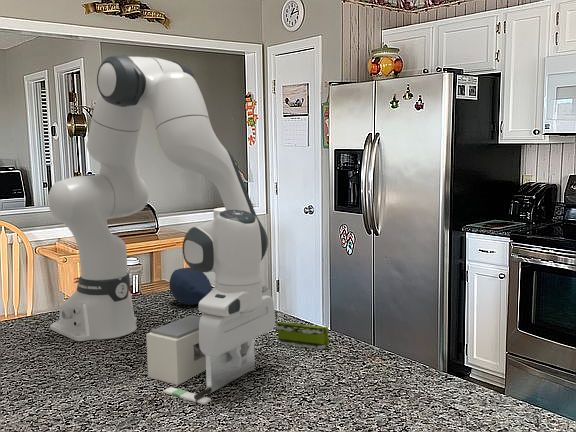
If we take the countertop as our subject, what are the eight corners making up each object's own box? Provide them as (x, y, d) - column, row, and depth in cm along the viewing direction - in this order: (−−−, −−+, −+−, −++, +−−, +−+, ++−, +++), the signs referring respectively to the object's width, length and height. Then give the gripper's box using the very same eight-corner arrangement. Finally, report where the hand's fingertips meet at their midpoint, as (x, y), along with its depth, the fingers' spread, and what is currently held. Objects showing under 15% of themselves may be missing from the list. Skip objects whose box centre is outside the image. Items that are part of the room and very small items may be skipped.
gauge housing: (133, 383, 121) (131, 336, 120) (193, 355, 136) (192, 313, 135) (204, 404, 112) (202, 353, 110) (260, 371, 127) (259, 326, 125)
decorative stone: (163, 309, 172) (162, 274, 171) (178, 297, 184) (177, 265, 182) (204, 310, 170) (203, 275, 169) (216, 299, 182) (215, 266, 181)
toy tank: (321, 332, 135) (335, 310, 144) (244, 322, 143) (263, 303, 151) (323, 360, 137) (337, 337, 146) (248, 349, 145) (266, 328, 153)
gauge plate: (152, 387, 118) (150, 347, 117) (212, 358, 133) (211, 322, 132) (196, 401, 112) (195, 358, 111) (254, 368, 127) (254, 331, 126)
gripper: (256, 281, 129) (257, 345, 131) (192, 305, 112) (194, 378, 113) (282, 285, 125) (282, 350, 127) (219, 310, 108) (221, 385, 110)
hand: (240, 363), depth 120 cm, fingers closed
